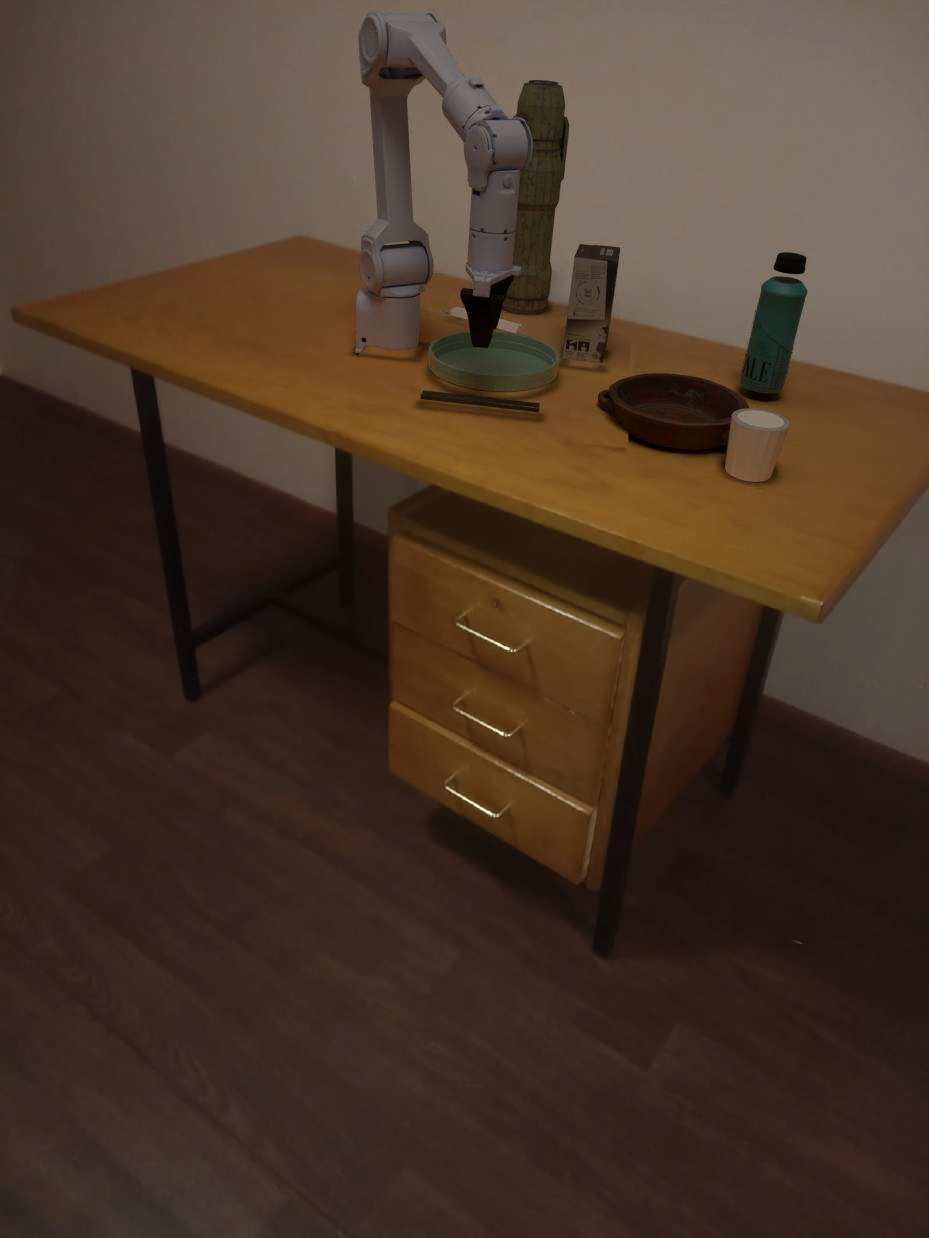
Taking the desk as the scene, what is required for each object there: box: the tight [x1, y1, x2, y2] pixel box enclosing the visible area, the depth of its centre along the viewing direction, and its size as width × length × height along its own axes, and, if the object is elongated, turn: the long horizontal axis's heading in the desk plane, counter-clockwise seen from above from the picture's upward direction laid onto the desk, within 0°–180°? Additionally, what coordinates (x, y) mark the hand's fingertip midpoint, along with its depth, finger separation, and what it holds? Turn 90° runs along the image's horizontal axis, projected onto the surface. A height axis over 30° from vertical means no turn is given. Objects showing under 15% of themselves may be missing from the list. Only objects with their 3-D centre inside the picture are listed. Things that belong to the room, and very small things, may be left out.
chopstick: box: [420, 389, 541, 413], centre depth 128 cm, size 2×16×2 cm, turn 81°
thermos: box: [502, 79, 570, 315], centre depth 159 cm, size 9×12×35 cm
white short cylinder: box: [724, 407, 791, 483], centre depth 116 cm, size 7×7×7 cm
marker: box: [442, 306, 524, 334], centre depth 158 cm, size 3×2×16 cm
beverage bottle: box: [740, 251, 809, 394], centre depth 134 cm, size 6×7×20 cm
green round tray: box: [427, 330, 560, 393], centre depth 139 cm, size 19×19×4 cm
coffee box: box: [561, 243, 621, 364], centre depth 144 cm, size 9×6×16 cm
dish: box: [597, 372, 750, 451], centre depth 125 cm, size 18×22×5 cm
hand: (484, 337), depth 125 cm, fingers open, 7 cm apart
